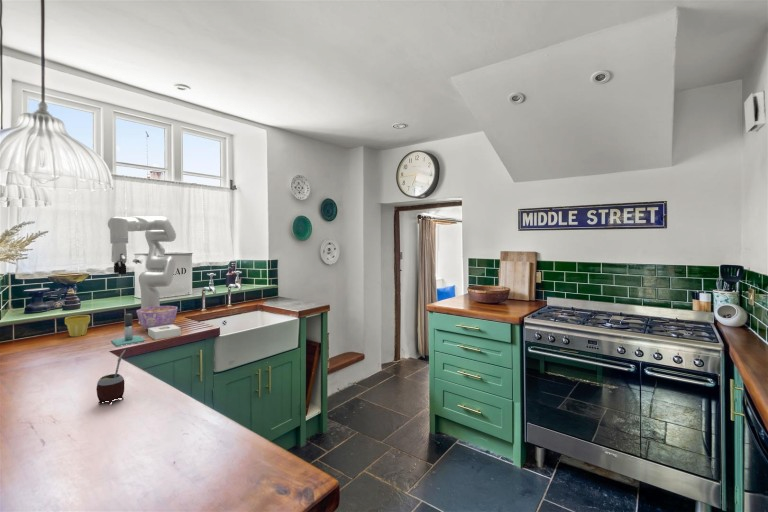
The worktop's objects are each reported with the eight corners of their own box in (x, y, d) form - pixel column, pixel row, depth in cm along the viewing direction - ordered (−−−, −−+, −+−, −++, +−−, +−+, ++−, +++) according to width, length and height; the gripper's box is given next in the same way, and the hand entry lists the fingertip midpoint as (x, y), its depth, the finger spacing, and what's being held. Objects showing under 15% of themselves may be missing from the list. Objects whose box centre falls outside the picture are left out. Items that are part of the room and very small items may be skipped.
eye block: (148, 335, 192) (148, 328, 191) (173, 331, 201) (172, 324, 200) (155, 339, 184) (155, 332, 183) (180, 335, 192) (180, 328, 192)
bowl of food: (146, 335, 192) (146, 314, 191) (130, 330, 203) (129, 309, 202) (184, 328, 208) (184, 308, 208) (167, 323, 219) (167, 304, 219)
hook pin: (124, 339, 180) (123, 314, 180) (131, 338, 183) (131, 313, 182) (125, 341, 178) (125, 315, 177) (133, 339, 180) (132, 314, 180)
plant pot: (91, 331, 199) (91, 314, 199) (89, 335, 190) (88, 317, 190) (67, 334, 193) (66, 316, 193) (63, 338, 185) (62, 319, 184)
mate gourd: (95, 408, 109) (94, 360, 108) (98, 399, 116) (97, 353, 115) (126, 402, 113) (124, 355, 113) (127, 393, 120) (126, 349, 119)
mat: (111, 341, 180) (111, 340, 180) (139, 337, 189) (139, 335, 189) (117, 346, 172) (116, 344, 172) (146, 341, 181) (146, 339, 181)
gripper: (106, 240, 190) (107, 272, 191) (114, 240, 179) (115, 275, 180) (123, 240, 196) (124, 272, 197) (132, 240, 184) (133, 274, 185)
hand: (120, 273), depth 188 cm, fingers open, 9 cm apart
